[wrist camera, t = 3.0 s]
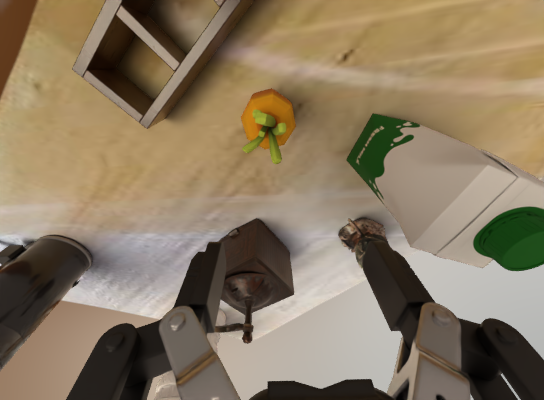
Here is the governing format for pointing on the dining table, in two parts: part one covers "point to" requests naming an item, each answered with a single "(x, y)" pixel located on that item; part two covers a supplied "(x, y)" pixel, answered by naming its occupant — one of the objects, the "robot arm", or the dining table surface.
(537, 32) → the dining table surface
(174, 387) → the decorative container
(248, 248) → the manual coffee grinder
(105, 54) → the rack
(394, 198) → the milk carton
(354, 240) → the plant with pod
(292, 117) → the carrot
